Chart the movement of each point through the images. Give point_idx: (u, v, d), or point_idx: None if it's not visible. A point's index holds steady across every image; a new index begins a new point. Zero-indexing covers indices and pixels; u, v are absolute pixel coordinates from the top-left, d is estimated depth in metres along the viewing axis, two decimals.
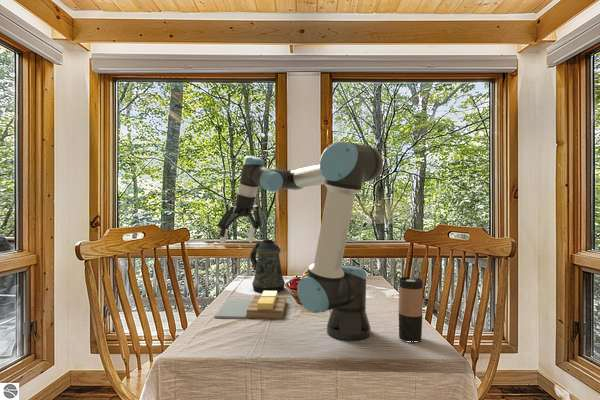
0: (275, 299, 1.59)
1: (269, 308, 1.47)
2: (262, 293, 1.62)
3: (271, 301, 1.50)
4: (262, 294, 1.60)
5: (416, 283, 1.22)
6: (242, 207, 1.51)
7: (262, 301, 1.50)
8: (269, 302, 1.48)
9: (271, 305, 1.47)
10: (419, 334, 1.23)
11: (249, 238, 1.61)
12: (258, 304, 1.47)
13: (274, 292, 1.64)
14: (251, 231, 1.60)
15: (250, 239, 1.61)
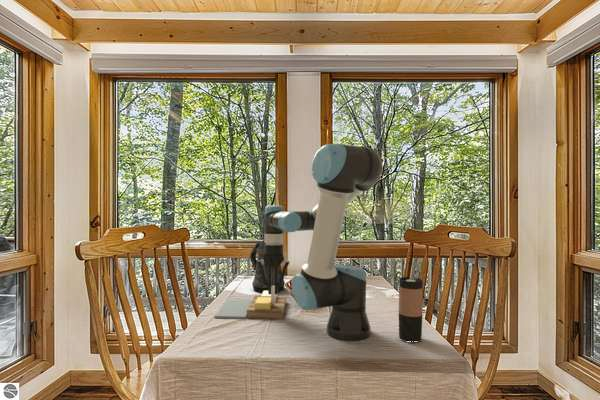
0: (275, 299, 1.59)
1: (266, 308, 1.47)
2: (262, 293, 1.62)
3: (268, 301, 1.50)
4: (262, 294, 1.60)
5: (416, 283, 1.22)
6: (267, 255, 1.51)
7: (259, 301, 1.50)
8: (266, 302, 1.49)
9: (268, 305, 1.47)
10: (419, 334, 1.23)
11: None
12: (255, 304, 1.47)
13: None
14: None
15: None
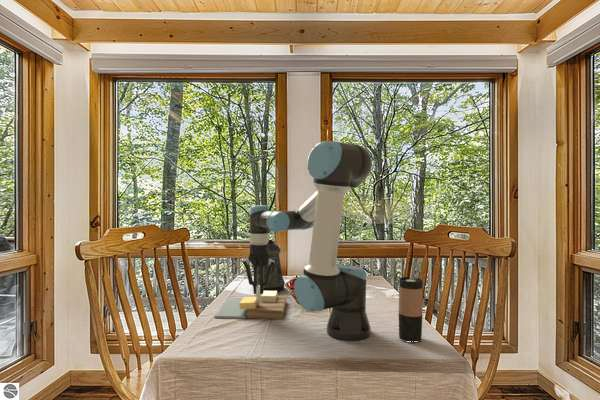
0: (275, 299, 1.59)
1: (251, 307, 1.48)
2: None
3: (253, 300, 1.50)
4: (262, 294, 1.60)
5: (416, 283, 1.22)
6: (253, 254, 1.51)
7: (244, 301, 1.50)
8: (251, 301, 1.49)
9: (253, 304, 1.48)
10: (419, 334, 1.23)
11: None
12: (240, 304, 1.48)
13: (274, 292, 1.64)
14: None
15: None
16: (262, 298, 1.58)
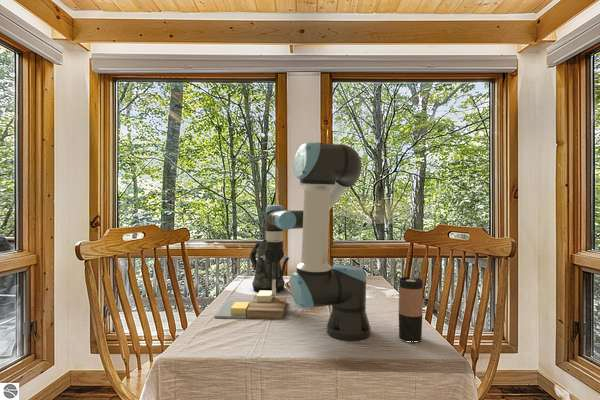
0: (271, 299, 1.59)
1: (242, 313, 1.48)
2: (258, 293, 1.62)
3: (245, 306, 1.50)
4: (258, 294, 1.61)
5: (416, 283, 1.22)
6: (268, 251, 1.62)
7: (236, 306, 1.50)
8: (242, 307, 1.49)
9: (244, 310, 1.48)
10: (419, 334, 1.23)
11: None
12: (231, 309, 1.48)
13: (270, 292, 1.64)
14: None
15: None
16: (258, 298, 1.58)
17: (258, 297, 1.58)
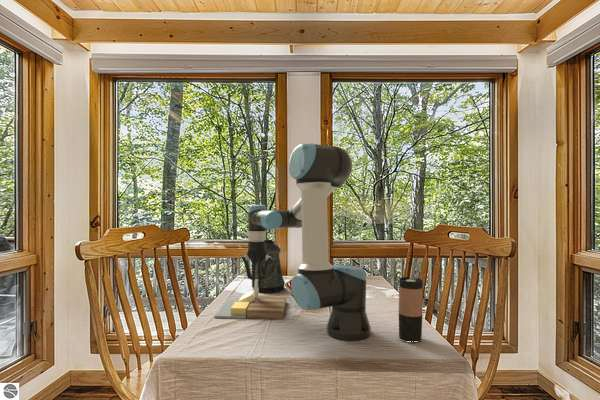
0: (253, 298, 1.59)
1: (242, 313, 1.48)
2: (240, 298, 1.63)
3: (245, 306, 1.50)
4: (240, 299, 1.61)
5: (416, 283, 1.22)
6: (251, 250, 1.62)
7: (236, 306, 1.50)
8: (242, 307, 1.49)
9: (244, 310, 1.48)
10: (419, 334, 1.23)
11: None
12: (231, 309, 1.48)
13: (251, 292, 1.65)
14: None
15: None
16: None
17: None
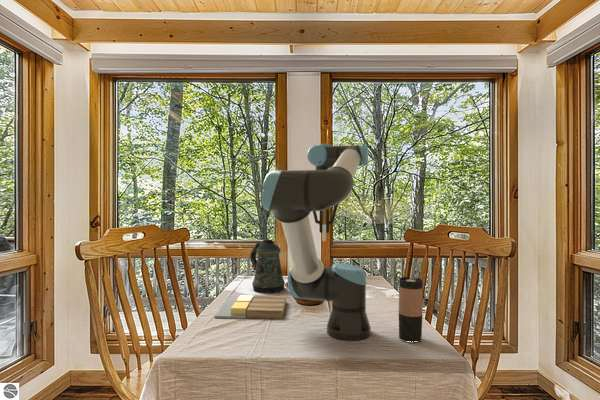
0: None
1: (242, 313, 1.48)
2: (238, 298, 1.63)
3: (245, 306, 1.50)
4: (237, 299, 1.61)
5: (416, 283, 1.22)
6: None
7: (236, 306, 1.50)
8: (242, 307, 1.49)
9: (244, 310, 1.48)
10: (419, 334, 1.23)
11: None
12: (231, 309, 1.48)
13: (250, 297, 1.65)
14: None
15: None
16: None
17: None
